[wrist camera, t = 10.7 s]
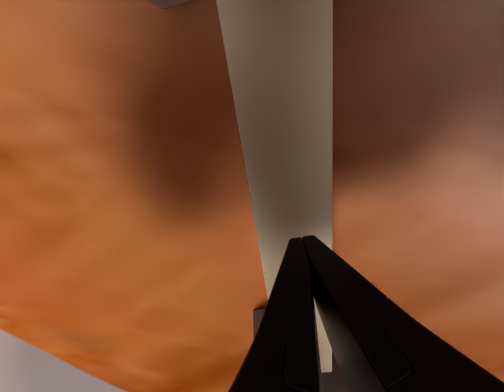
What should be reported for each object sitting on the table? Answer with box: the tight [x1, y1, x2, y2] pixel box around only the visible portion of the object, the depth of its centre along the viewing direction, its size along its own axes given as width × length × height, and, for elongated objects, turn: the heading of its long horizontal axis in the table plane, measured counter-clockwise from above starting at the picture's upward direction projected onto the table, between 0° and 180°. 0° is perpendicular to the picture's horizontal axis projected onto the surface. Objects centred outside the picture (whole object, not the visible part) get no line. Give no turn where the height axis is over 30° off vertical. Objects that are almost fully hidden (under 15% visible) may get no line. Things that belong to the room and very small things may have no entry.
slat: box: [216, 0, 333, 373], centre depth 11 cm, size 3×22×3 cm, turn 9°
